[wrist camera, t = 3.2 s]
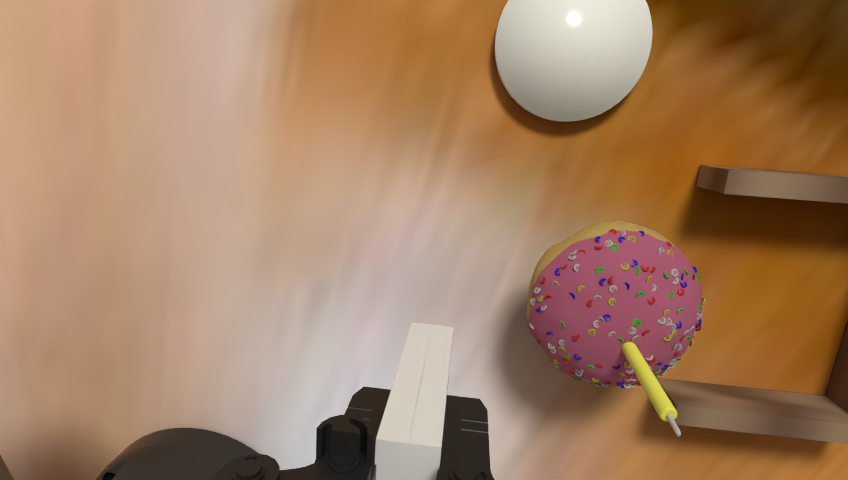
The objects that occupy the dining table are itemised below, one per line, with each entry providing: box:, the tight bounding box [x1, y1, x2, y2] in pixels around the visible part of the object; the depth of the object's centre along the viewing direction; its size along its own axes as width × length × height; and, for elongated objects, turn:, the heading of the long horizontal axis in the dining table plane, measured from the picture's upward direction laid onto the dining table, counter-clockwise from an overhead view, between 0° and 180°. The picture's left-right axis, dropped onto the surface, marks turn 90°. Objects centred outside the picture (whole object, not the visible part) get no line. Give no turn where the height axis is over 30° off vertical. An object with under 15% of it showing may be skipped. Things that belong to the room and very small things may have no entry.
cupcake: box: [526, 221, 705, 436], centre depth 23 cm, size 9×8×12 cm
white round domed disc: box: [494, 0, 652, 122], centre depth 25 cm, size 8×8×1 cm
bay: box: [657, 165, 848, 444], centre depth 26 cm, size 11×14×3 cm
